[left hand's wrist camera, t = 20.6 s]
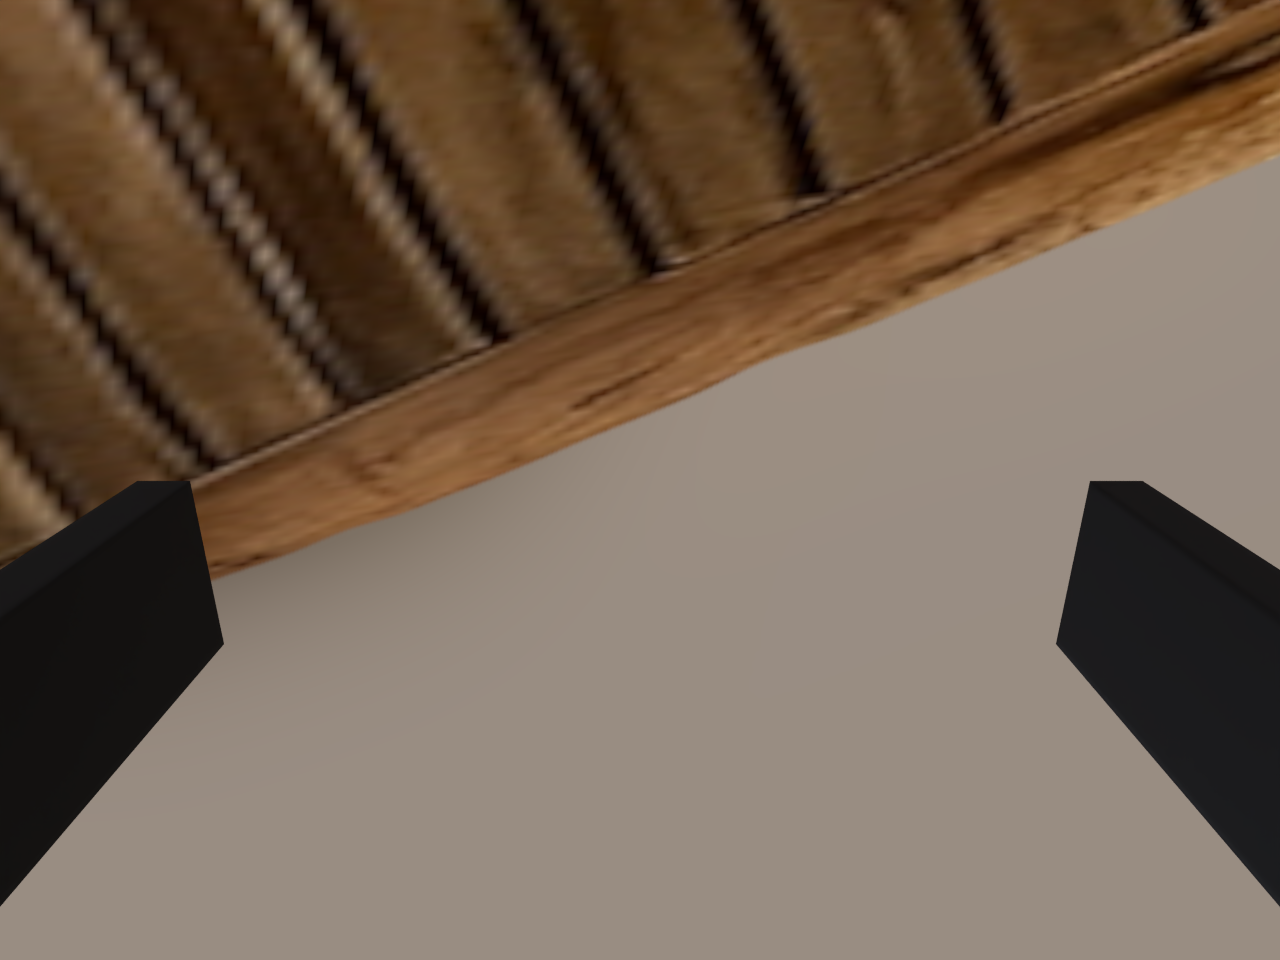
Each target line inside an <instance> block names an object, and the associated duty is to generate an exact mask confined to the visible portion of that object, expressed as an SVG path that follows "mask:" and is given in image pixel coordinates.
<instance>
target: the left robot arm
mask: <svg viewBox="0 0 1280 960" xmlns="http://www.w3.org/2000/svg"><path fill="white" fill-rule="evenodd" d="M1056 644H1057V646H1058V647H1059V648H1060V649H1061V650H1062V652H1063V653H1064V654H1065V655H1066V656H1067V657H1068V659H1069V660H1070V661H1071V662H1072V663H1073V664H1074V666H1075V667H1076V668H1077V669H1078V670H1079V671H1080V673H1081V674H1082V675H1083V676H1084V677H1085V679H1086V680H1087V681H1088V682H1089V683H1090V684H1091V686H1092V687H1093V688H1094V689H1095V690H1096V691H1097V693H1098V694H1099V695H1100V696H1101V697H1102V698H1103V700H1104V701H1105V702H1106V703H1107V704H1108V706H1109V707H1110V708H1111V709H1112V710H1113V711H1114V713H1115V714H1116V715H1117V716H1118V717H1119V718H1120V720H1121V721H1122V722H1123V723H1124V724H1125V725H1126V727H1127V728H1128V729H1129V730H1130V731H1131V733H1132V734H1133V735H1134V736H1135V737H1136V738H1137V739H1138V741H1139V742H1140V743H1141V744H1142V745H1143V747H1144V748H1145V749H1146V750H1147V751H1148V752H1149V754H1150V755H1151V756H1152V757H1153V758H1154V759H1155V761H1156V762H1157V763H1158V764H1159V765H1160V767H1161V768H1162V769H1163V770H1164V771H1165V772H1166V774H1167V775H1168V776H1169V777H1170V778H1171V779H1172V781H1173V782H1174V783H1175V784H1176V785H1177V786H1178V788H1179V789H1180V790H1181V791H1182V792H1183V794H1184V795H1185V796H1186V797H1187V798H1188V799H1189V800H1190V802H1191V803H1192V804H1193V805H1194V806H1195V808H1196V809H1197V810H1198V811H1199V812H1200V813H1201V815H1202V816H1203V817H1204V818H1205V819H1206V820H1207V822H1208V823H1209V824H1210V825H1211V826H1212V828H1213V829H1214V830H1215V831H1216V832H1217V833H1218V835H1219V836H1220V837H1221V838H1222V839H1223V840H1224V842H1225V843H1226V844H1227V845H1228V846H1229V847H1230V849H1231V850H1232V851H1233V852H1234V853H1235V855H1236V856H1237V857H1238V858H1239V859H1240V860H1241V862H1242V863H1243V864H1244V865H1245V866H1246V867H1247V869H1248V870H1249V871H1250V872H1251V873H1252V874H1253V876H1254V877H1255V878H1256V879H1257V880H1258V882H1259V883H1260V884H1261V885H1262V886H1263V887H1264V889H1265V890H1266V891H1267V892H1268V893H1269V894H1270V896H1271V897H1272V898H1273V899H1274V900H1275V901H1276V903H1277V904H1278V905H1279V906H1280V570H1279V569H1278V568H1276V567H1275V566H1273V565H1272V564H1270V563H1268V562H1267V561H1265V560H1264V559H1262V558H1261V557H1259V556H1258V555H1256V554H1255V553H1253V552H1251V551H1250V550H1248V549H1247V548H1245V547H1244V546H1242V545H1241V544H1239V543H1238V542H1236V541H1234V540H1233V539H1231V538H1230V537H1228V536H1227V535H1225V534H1224V533H1222V532H1220V531H1219V530H1217V529H1216V528H1214V527H1213V526H1211V525H1210V524H1208V523H1207V522H1205V521H1204V520H1202V519H1200V518H1199V517H1197V516H1196V515H1194V514H1193V513H1191V512H1190V511H1188V510H1186V509H1185V508H1183V507H1182V506H1180V505H1179V504H1177V503H1176V502H1174V501H1173V500H1171V499H1169V498H1168V497H1166V496H1165V495H1163V494H1162V493H1160V492H1159V491H1157V490H1156V489H1154V488H1153V487H1151V486H1149V485H1148V484H1146V483H1145V482H1143V481H1090V484H1089V489H1088V494H1087V498H1086V503H1085V508H1084V513H1083V518H1082V522H1081V527H1080V532H1079V537H1078V542H1077V546H1076V551H1075V556H1074V561H1073V565H1072V570H1071V575H1070V580H1069V585H1068V590H1067V594H1066V599H1065V604H1064V609H1063V613H1062V618H1061V623H1060V628H1059V632H1058V637H1057V642H1056ZM223 645H224V642H223V637H222V633H221V628H220V623H219V618H218V613H217V609H216V604H215V599H214V594H213V589H212V585H211V580H210V575H209V570H208V565H207V561H206V556H205V551H204V546H203V542H202V537H201V532H200V527H199V522H198V518H197V513H196V508H195V503H194V498H193V494H192V489H191V484H190V481H137V482H135V483H134V484H132V485H131V486H129V487H127V488H126V489H124V490H123V491H121V492H120V493H118V494H117V495H115V496H114V497H112V498H110V499H109V500H107V501H106V502H104V503H103V504H101V505H100V506H98V507H97V508H95V509H93V510H92V511H90V512H89V513H87V514H86V515H84V516H83V517H81V518H80V519H78V520H76V521H75V522H73V523H72V524H70V525H69V526H67V527H66V528H64V529H63V530H61V531H59V532H58V533H56V534H55V535H53V536H52V537H50V538H49V539H47V540H46V541H44V542H42V543H41V544H39V545H38V546H36V547H35V548H33V549H32V550H30V551H29V552H27V553H25V554H24V555H22V556H21V557H19V558H18V559H16V560H15V561H13V562H12V563H10V564H8V565H7V566H5V567H4V568H2V569H1V570H0V906H1V905H2V904H3V903H4V901H5V900H6V899H7V898H8V897H9V896H10V894H11V893H12V892H13V891H14V890H15V889H16V887H17V886H18V885H19V884H20V883H21V881H22V880H23V879H24V878H25V877H26V876H27V874H28V873H29V872H30V871H31V870H32V869H33V867H34V866H35V865H36V864H37V863H38V862H39V860H40V859H41V858H42V857H43V856H44V855H45V853H46V852H47V851H48V850H49V849H50V847H51V846H52V845H53V844H54V843H55V842H56V840H57V839H58V838H59V837H60V836H61V835H62V833H63V832H64V831H65V830H66V829H67V827H68V826H69V825H70V824H71V823H72V822H73V820H74V819H75V818H76V817H77V816H78V815H79V813H80V812H81V811H82V810H83V809H84V808H85V806H86V805H87V804H88V803H89V802H90V800H91V799H92V798H93V797H94V796H95V795H96V794H97V792H98V791H99V790H100V789H101V788H102V786H103V785H104V784H105V783H106V782H107V781H108V779H109V778H110V777H111V776H112V775H113V774H114V772H115V771H116V770H117V769H118V768H119V767H120V765H121V764H122V763H123V762H124V761H125V759H126V758H127V757H128V756H129V755H130V754H131V752H132V751H133V750H134V749H135V748H136V747H137V745H138V744H139V743H140V742H141V741H142V740H143V738H144V737H145V736H146V735H147V734H148V732H149V731H150V730H151V729H152V728H153V727H154V725H155V724H156V723H157V722H158V721H159V720H160V718H161V717H162V716H163V715H164V714H165V713H166V711H167V710H168V709H169V708H170V707H171V706H172V704H173V703H174V702H175V701H176V700H177V698H178V697H179V696H180V695H181V694H182V693H183V691H184V690H185V689H186V688H187V687H188V685H189V684H190V683H191V682H192V681H193V680H194V678H195V677H196V676H197V675H198V674H199V673H200V671H201V670H202V669H203V668H204V667H205V666H206V664H207V663H208V662H209V661H210V660H211V659H212V657H213V656H214V655H215V654H216V653H217V652H218V650H219V649H220V648H221V647H222V646H223Z"/></svg>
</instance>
